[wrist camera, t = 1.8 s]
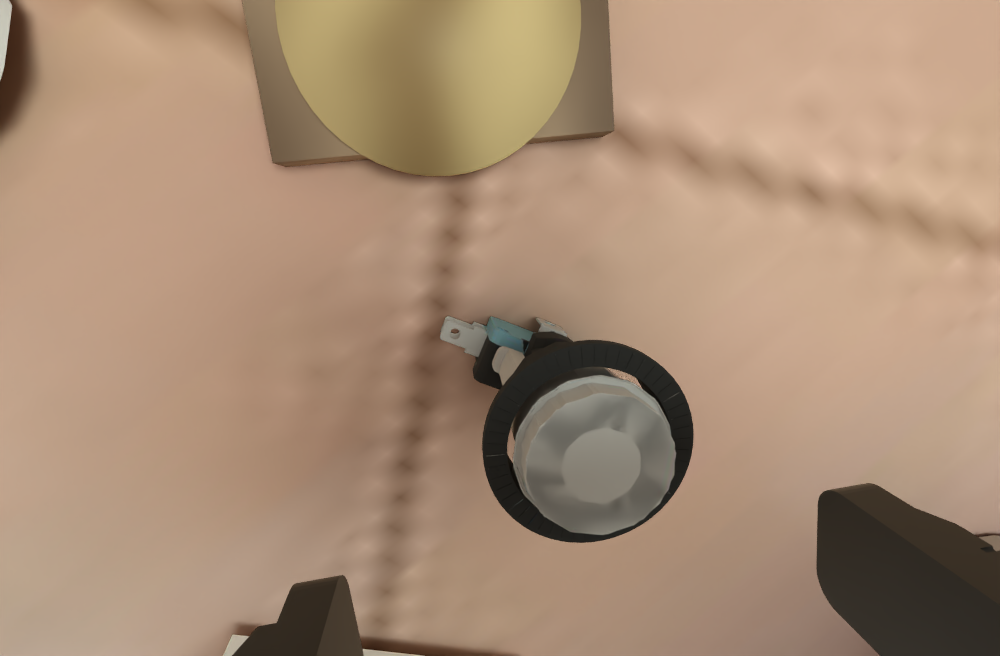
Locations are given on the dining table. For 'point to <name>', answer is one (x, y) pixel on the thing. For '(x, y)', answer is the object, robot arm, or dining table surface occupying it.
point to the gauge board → (428, 79)
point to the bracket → (239, 639)
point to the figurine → (4, 30)
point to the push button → (576, 429)
